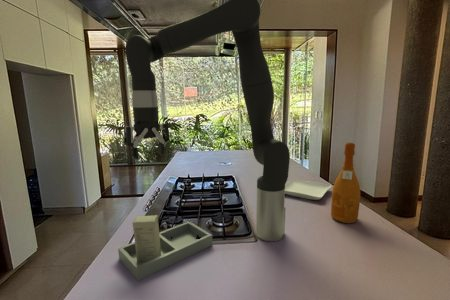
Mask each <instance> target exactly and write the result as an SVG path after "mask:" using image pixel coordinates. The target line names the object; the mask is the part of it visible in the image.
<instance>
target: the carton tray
mask: <svg viewBox="0 0 450 300" xmlns="http://www.w3.org/2000/svg"><path fill="white" fill-rule="evenodd" d="M159 235H160V246H161V254H160V256H159V257H157V258H155V259H152V260H150V261H137V257H136V248H135V241H132V242H131V243H128V244H126V245H125V244H124V245H122V246H120V247H118V249H117V251H118V259H119V260H120V261H121V263H122V264H123V265H124V266H125V267H126V269H127V270H128V271H129V272H130V273H131V275H132V276H133V277H134V278H135V279H136V280H137V281H141V280H143V279H145V278H147V277H149V276H152V275H153V274H156V273H157V272H159V271H161V270H163V269H166V268H167V267H168V268H169V266H171V265H173V264H176V263H177V262H180V261H182V260H184V259H186V258H188V257H190V256H193V255H195V254H196V253H199V252H200V251H203V250H205V249H207V248H210V247H211V246H213V234H212V233H210V232H208V231H207V230H205V229H203V228H201V227H199V225H196V224H194V223H193V222H191V221H186V222H184V223H183V222H182V223H181V224H178V225H176V226H173V227H170V228H168V229H164V230H162V231H159ZM197 235H198V236H199V237H201V238H200V239H196V236H197ZM171 237H173V238H172V239H171Z"/></svg>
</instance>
